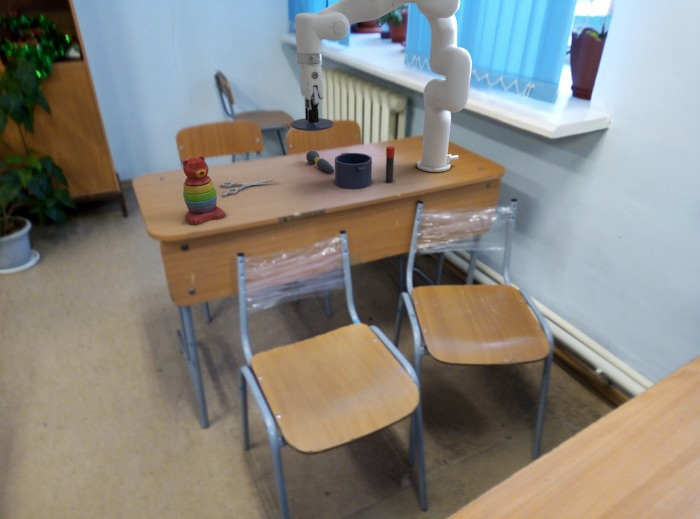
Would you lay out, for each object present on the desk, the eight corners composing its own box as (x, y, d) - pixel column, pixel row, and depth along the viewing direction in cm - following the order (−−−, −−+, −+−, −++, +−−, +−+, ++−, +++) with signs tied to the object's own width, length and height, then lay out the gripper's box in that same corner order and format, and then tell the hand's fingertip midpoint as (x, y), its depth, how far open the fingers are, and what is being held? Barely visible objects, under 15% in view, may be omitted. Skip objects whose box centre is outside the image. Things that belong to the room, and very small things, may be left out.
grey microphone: (341, 172, 176) (341, 159, 174) (330, 175, 174) (330, 162, 171) (311, 159, 190) (311, 147, 187) (301, 162, 187) (300, 149, 185)
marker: (391, 179, 170) (392, 145, 164) (394, 182, 168) (396, 148, 161) (384, 180, 169) (385, 146, 163) (387, 183, 167) (388, 149, 161)
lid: (326, 120, 161) (325, 101, 158) (339, 130, 150) (339, 110, 147) (286, 123, 157) (285, 104, 154) (297, 134, 146) (296, 113, 143)
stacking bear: (192, 226, 138) (180, 166, 129) (180, 214, 145) (169, 157, 136) (227, 217, 143) (219, 159, 134) (214, 205, 151) (206, 150, 142)
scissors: (216, 183, 165) (272, 174, 172) (216, 185, 165) (272, 176, 173) (223, 194, 157) (281, 184, 164) (223, 196, 157) (281, 186, 164)
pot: (360, 171, 177) (360, 149, 173) (380, 188, 163) (380, 164, 158) (328, 175, 173) (327, 153, 169) (345, 193, 159) (344, 169, 155)
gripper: (330, 62, 138) (331, 126, 147) (313, 55, 151) (316, 114, 160) (304, 63, 136) (307, 128, 145) (290, 56, 149) (294, 116, 158)
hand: (312, 120), depth 152 cm, fingers closed on lid, 2 cm apart
